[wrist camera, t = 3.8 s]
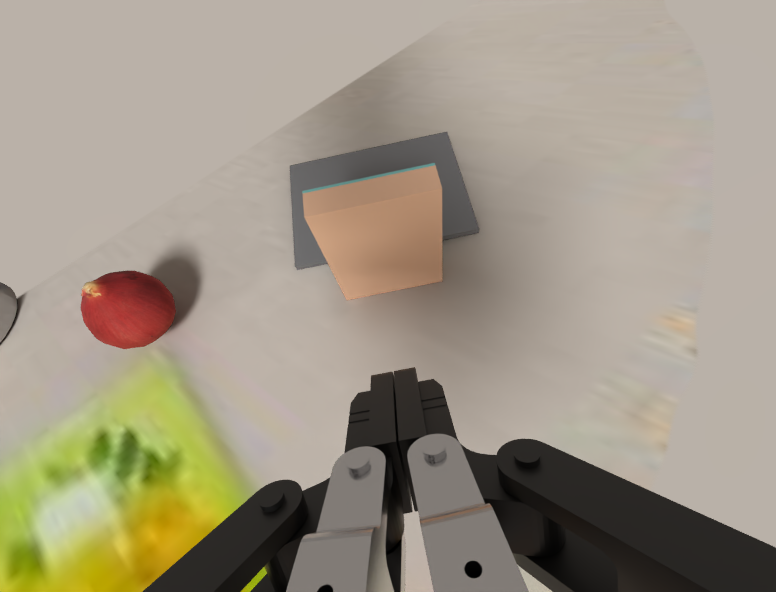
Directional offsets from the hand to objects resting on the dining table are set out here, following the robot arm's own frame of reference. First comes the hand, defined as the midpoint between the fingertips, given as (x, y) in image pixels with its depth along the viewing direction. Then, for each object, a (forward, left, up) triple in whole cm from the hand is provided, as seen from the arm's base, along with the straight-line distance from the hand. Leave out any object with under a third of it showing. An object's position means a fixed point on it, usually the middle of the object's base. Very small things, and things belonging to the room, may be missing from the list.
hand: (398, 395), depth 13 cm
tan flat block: (0, +13, -15) cm, 20 cm away
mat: (0, +22, -15) cm, 26 cm away
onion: (-20, +13, -15) cm, 28 cm away
